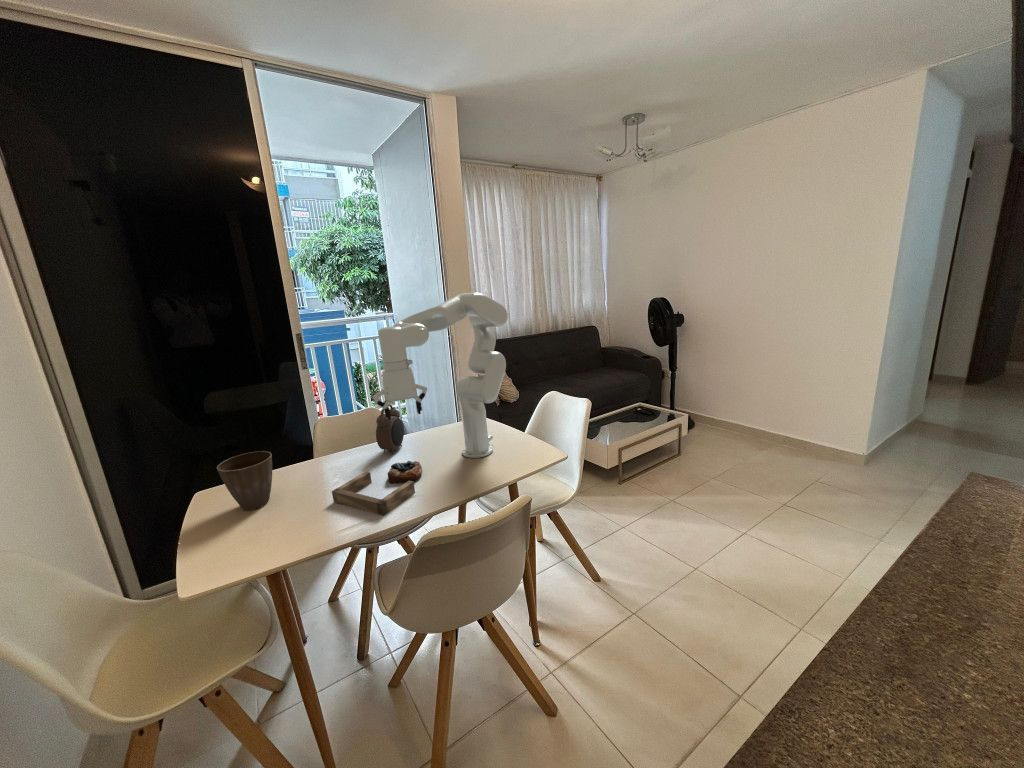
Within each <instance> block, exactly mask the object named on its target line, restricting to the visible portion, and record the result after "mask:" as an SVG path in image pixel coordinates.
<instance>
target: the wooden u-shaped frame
mask: <svg viewBox="0 0 1024 768" xmlns="http://www.w3.org/2000/svg"><path fill="white" fill-rule="evenodd" d="M370 484H372V476H371V472H369V471H364V472H363V473H361V474H359V475H357V476H356V477H354V478H352V479H350V480H349V481H346V483H344V484H341V485H340V486H338V487H336V488H335V489H333V490H331V494H332V499H333V503H335V504H339V505H342V506H346V507H350V508H353V509H357V510H361V511H365V512H369V513H372V514H376V515H380V516H385V515H387V514H388V513H389V512H391V510H393V509H395V508H396V507H398V506H399V505H400V504H401V503H403V502H404V501H406V500H407V499H408V498H410V497H411V496H412V495H414V494H415V493H416V491H415V482H413V481H408V482H406V483H402V485H400V486H399V487H398V488H396V489H394V490H393V491H392V492H390V493H388V494H387V495H386V496H384V497H383V498H381V499H380V498H377V497H373V496H369V495H365V494H361V493H357V492H359V491H361V490H362V489H364V488H365V487H367V486H368V485H369V486H370Z"/></svg>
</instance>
